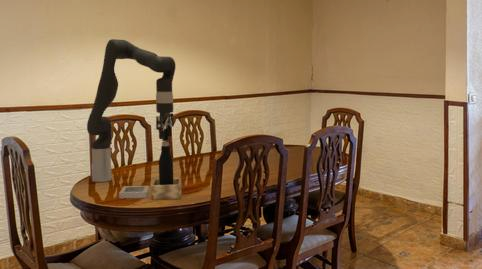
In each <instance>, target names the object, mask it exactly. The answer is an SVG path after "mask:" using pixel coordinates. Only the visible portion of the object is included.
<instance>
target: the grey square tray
mask: <svg viewBox="0 0 482 269" xmlns="http://www.w3.org/2000/svg"><path fill="white" fill-rule="evenodd" d="M149 192H150V185H132V186H127V185H126V186H122V188H121V190H120V191H119V193H118V196H119V198H118V199H120V200H121V199H124V198H126V199H146V198H148V194H149ZM124 200H125V199H124Z"/></svg>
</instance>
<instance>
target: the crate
mask: <svg viewBox="0 0 482 269" xmlns="http://www.w3.org/2000/svg"><path fill="white" fill-rule="evenodd" d="M173 184H174V185H159V178H153V179H152V182H151V185H150V193H151V194H150V196H151V198H150V199H151V200H152V201H156V200H158V201H159V200H181V199H182V178H180V177H177V178H174V177H173Z"/></svg>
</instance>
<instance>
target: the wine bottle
mask: <svg viewBox="0 0 482 269" xmlns="http://www.w3.org/2000/svg"><path fill="white" fill-rule="evenodd" d="M169 137H171V136H170V135H169V129H167V128H164V139H161V140H162V141H161V148H160V149H161V150H160V151H161V152H160V155H159V158H158V159H159V161H158V179H159V185H174V184H173V178H174V160H173V157H172V154H171V152H170V151H171V150H170V149H171V148H170V142H169Z"/></svg>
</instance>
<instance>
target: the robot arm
mask: <svg viewBox="0 0 482 269" xmlns="http://www.w3.org/2000/svg"><path fill="white" fill-rule="evenodd" d="M126 59H128V60H134V61H136V63H138V65H140V66H144V67H146V68H149V70H151V71H153V72H155V73H159V74H160V73H162V77H159V78H158V79H156V83H155V85H156V86H155V89H156V93H155V104H156V105H155V109H156V113H158V114H159V115H156V116H155V123H156V124H155V129H156V130H157V131H158V138H159V140H162V139H164V129H169V135H170V136H169V137H172V135H173V134H172V133H173V132H172V128H173V127H174V126H175V125H174V124H175V120H174V119H175V118H174V113H173V112H174V93H173V80H174V76H175V73H176V62H175V59H174V58H173V57H171V56H160V55H158V54H156V53H155V52H152V51H149V50H146V49H143V48H140V47H138V46H137V45H134V44H133V43H131V42H130V41H128V40H125V39H116V38H114V39H113V38H112V39H109V40H108V41H107V43H106V46H105V50H104V57H103V66H102V68H101V69H102V70H101V73H100V74H101V75H100V79H99V82H98V84H97V85H98V87H97V89H96V94H95V98H94V102H93V106H92V108H91V111H90V114H89V116H88V120H87V123H86V130H87V133H88V135H90V136H94V137H95V136H98V137H97V138H96V139H95V140H94V141H92V142H91V182H92V183H93V182H95V183H104V182H105V183H106V182H107V183H108V182H110V181H112V180H113V179H112V176H113V174H112V159H111V158H112V156H111V144H112V123H111V120H110V118H109V117H108V116H103V115H104V112H105V111H106V110H107V108H109V106H111V104H112V102H113V101H114V100H115V98H116V95H117V93H118V89H119V81H118V78H117V74H116V73H115V66H116V62H117V60H126Z"/></svg>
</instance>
